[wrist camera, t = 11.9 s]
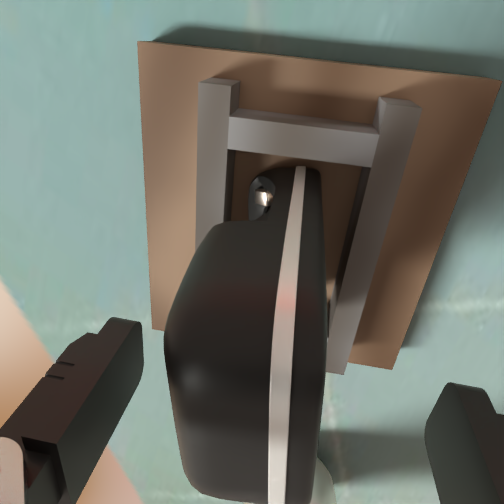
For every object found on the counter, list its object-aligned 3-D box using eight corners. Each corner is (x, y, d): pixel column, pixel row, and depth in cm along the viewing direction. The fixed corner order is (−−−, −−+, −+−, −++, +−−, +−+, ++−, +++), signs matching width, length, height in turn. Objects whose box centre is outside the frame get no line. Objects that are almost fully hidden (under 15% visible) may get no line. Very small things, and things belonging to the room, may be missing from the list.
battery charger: (235, 158, 17) (123, 325, 7) (321, 160, 16) (332, 343, 7) (239, 288, 20) (168, 524, 11) (311, 293, 20) (309, 546, 10)
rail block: (486, 77, 15) (528, 87, 12) (387, 351, 23) (398, 398, 20) (151, 40, 17) (114, 41, 14) (160, 313, 24) (138, 353, 21)
